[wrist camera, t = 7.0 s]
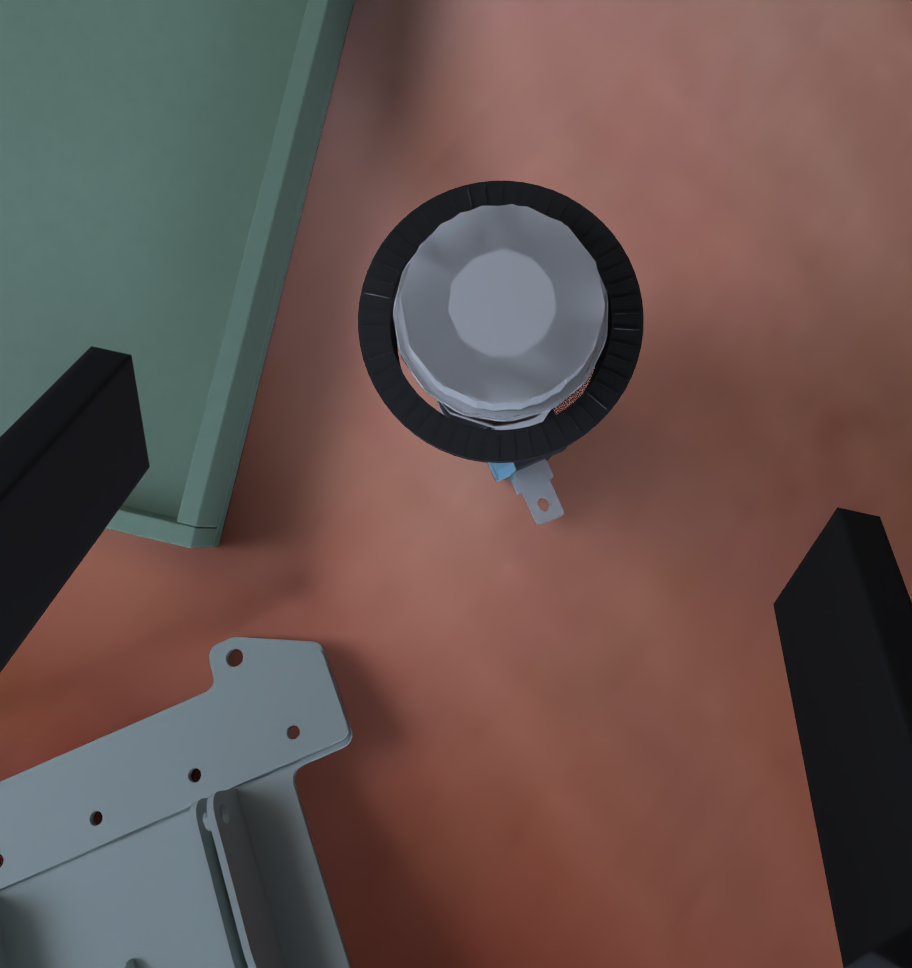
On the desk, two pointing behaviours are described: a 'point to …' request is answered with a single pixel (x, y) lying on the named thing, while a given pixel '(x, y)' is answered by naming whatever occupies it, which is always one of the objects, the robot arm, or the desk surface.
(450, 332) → the push button
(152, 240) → the tray
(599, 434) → the desk surface
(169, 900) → the metal bracket
